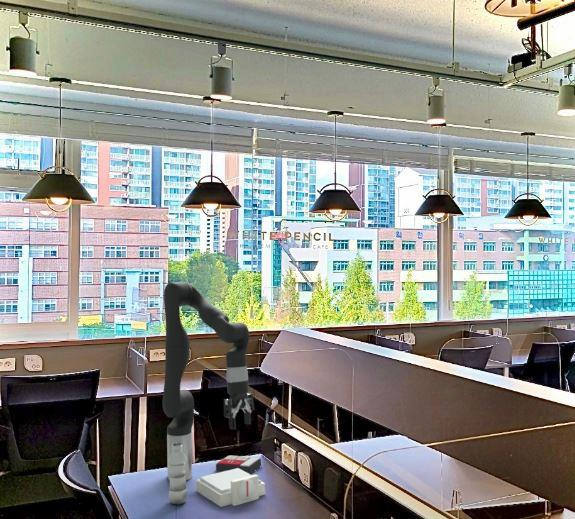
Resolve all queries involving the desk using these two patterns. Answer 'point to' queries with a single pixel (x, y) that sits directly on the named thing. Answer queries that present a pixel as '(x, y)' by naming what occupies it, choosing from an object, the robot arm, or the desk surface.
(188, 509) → the desk surface
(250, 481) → the plate
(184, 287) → the robot arm
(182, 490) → the silver metal bottle
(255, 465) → the calculator
